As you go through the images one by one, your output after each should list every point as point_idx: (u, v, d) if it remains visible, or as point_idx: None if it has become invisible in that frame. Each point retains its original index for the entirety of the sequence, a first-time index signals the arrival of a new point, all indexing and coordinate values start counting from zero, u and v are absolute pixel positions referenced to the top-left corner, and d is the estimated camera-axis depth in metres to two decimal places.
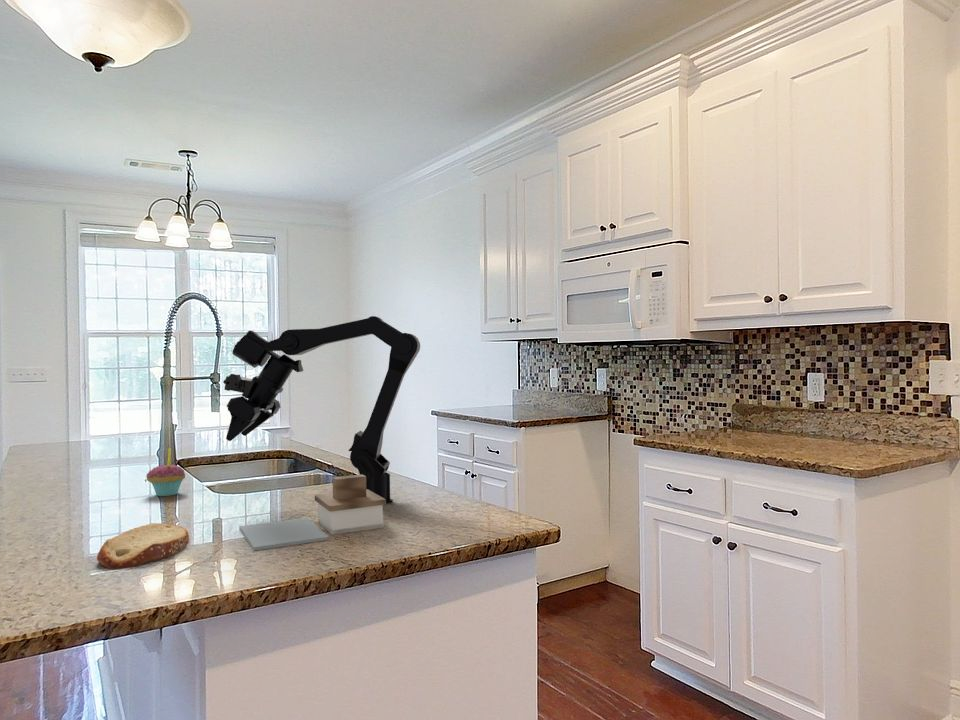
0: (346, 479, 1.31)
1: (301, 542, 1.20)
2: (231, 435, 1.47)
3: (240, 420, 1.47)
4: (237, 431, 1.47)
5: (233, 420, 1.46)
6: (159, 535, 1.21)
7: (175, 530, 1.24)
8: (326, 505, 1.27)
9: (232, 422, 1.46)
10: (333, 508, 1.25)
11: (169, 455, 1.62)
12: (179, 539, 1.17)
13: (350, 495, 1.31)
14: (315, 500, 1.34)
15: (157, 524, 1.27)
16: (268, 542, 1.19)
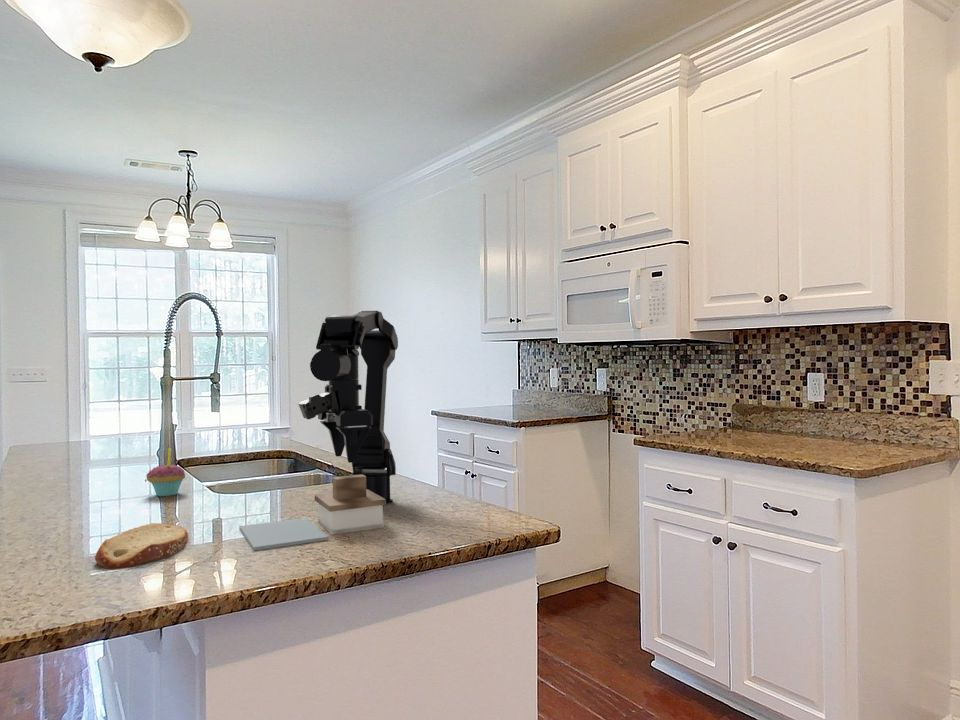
0: (346, 479, 1.31)
1: (301, 542, 1.20)
2: (353, 455, 1.27)
3: (354, 434, 1.27)
4: (357, 446, 1.27)
5: (348, 438, 1.26)
6: (158, 535, 1.21)
7: (174, 530, 1.24)
8: (326, 505, 1.27)
9: (348, 440, 1.26)
10: (333, 508, 1.25)
11: (169, 455, 1.62)
12: (177, 540, 1.17)
13: (350, 495, 1.31)
14: (315, 500, 1.34)
15: (157, 524, 1.27)
16: (268, 542, 1.19)
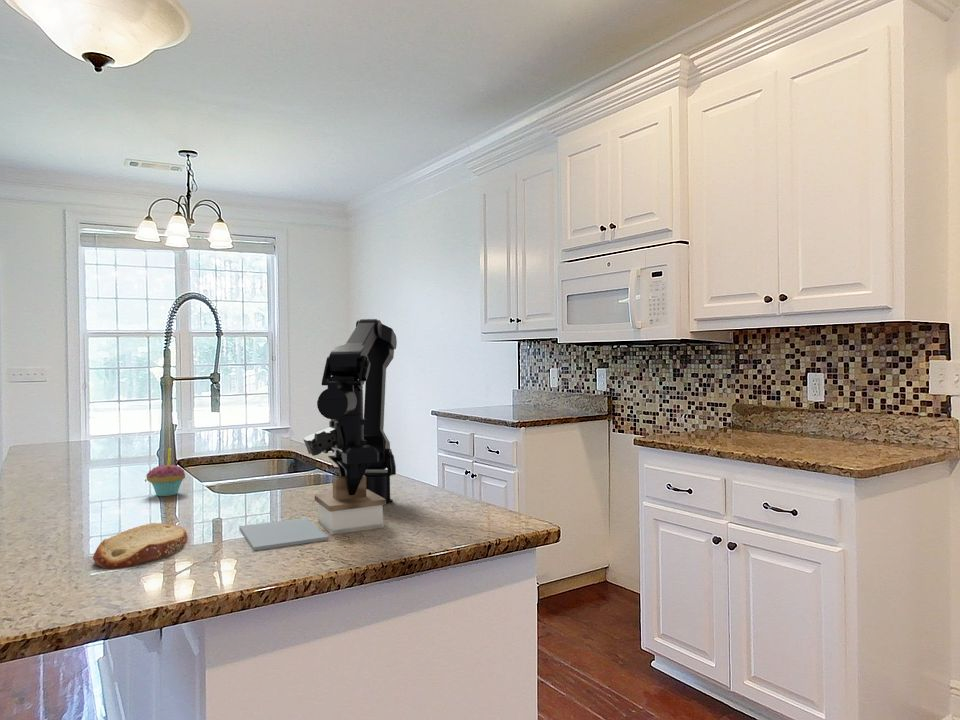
0: None
1: (301, 542, 1.20)
2: (353, 487, 1.30)
3: (355, 467, 1.30)
4: (358, 479, 1.30)
5: (349, 472, 1.29)
6: (157, 535, 1.21)
7: (174, 530, 1.24)
8: (326, 505, 1.27)
9: (349, 474, 1.29)
10: (333, 508, 1.25)
11: (169, 455, 1.62)
12: (176, 540, 1.17)
13: (350, 495, 1.31)
14: (315, 500, 1.34)
15: (157, 524, 1.27)
16: (268, 542, 1.19)
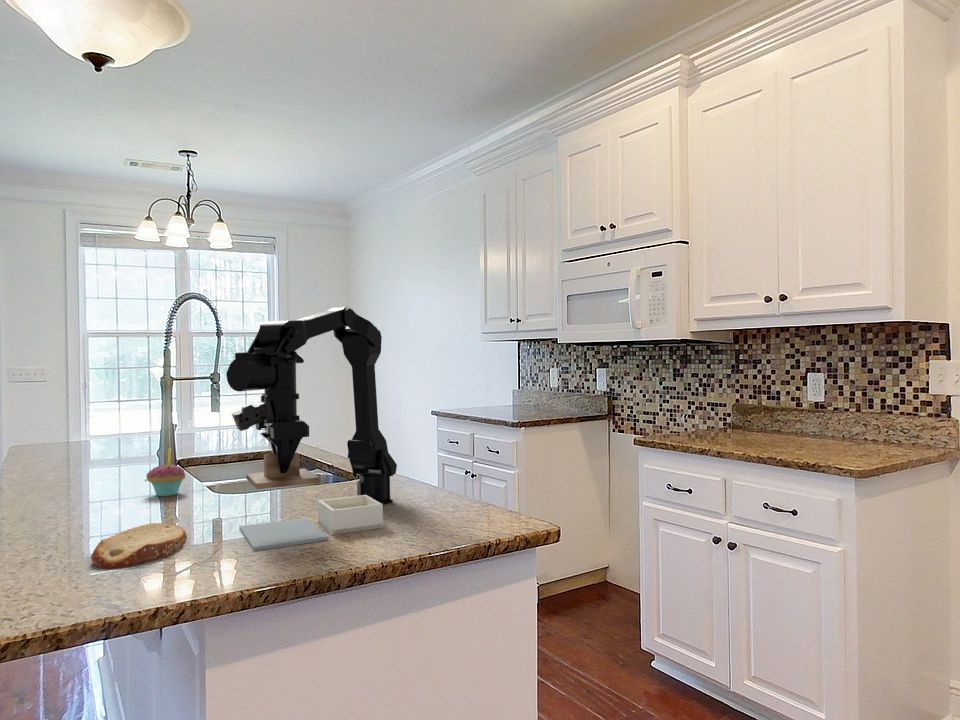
0: None
1: (301, 542, 1.20)
2: (285, 465, 1.24)
3: (286, 444, 1.24)
4: (290, 456, 1.24)
5: (280, 448, 1.23)
6: (156, 535, 1.21)
7: (173, 530, 1.24)
8: (254, 483, 1.21)
9: (279, 450, 1.23)
10: (260, 486, 1.19)
11: (169, 455, 1.62)
12: (174, 540, 1.17)
13: (281, 473, 1.25)
14: (247, 479, 1.28)
15: (156, 524, 1.27)
16: (268, 542, 1.19)
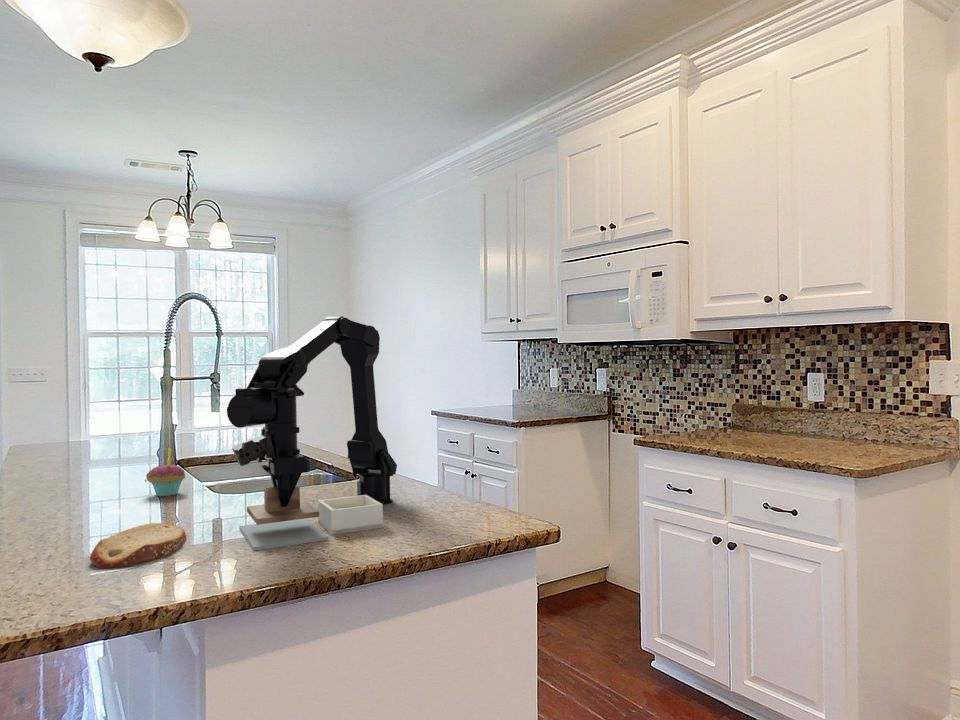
0: None
1: (301, 542, 1.20)
2: (285, 499, 1.24)
3: (286, 478, 1.24)
4: (290, 490, 1.24)
5: (280, 482, 1.23)
6: (156, 535, 1.21)
7: (172, 530, 1.24)
8: (254, 518, 1.21)
9: (280, 485, 1.23)
10: (261, 521, 1.19)
11: (169, 455, 1.62)
12: (173, 540, 1.17)
13: (282, 507, 1.25)
14: None
15: (156, 524, 1.27)
16: (268, 542, 1.19)
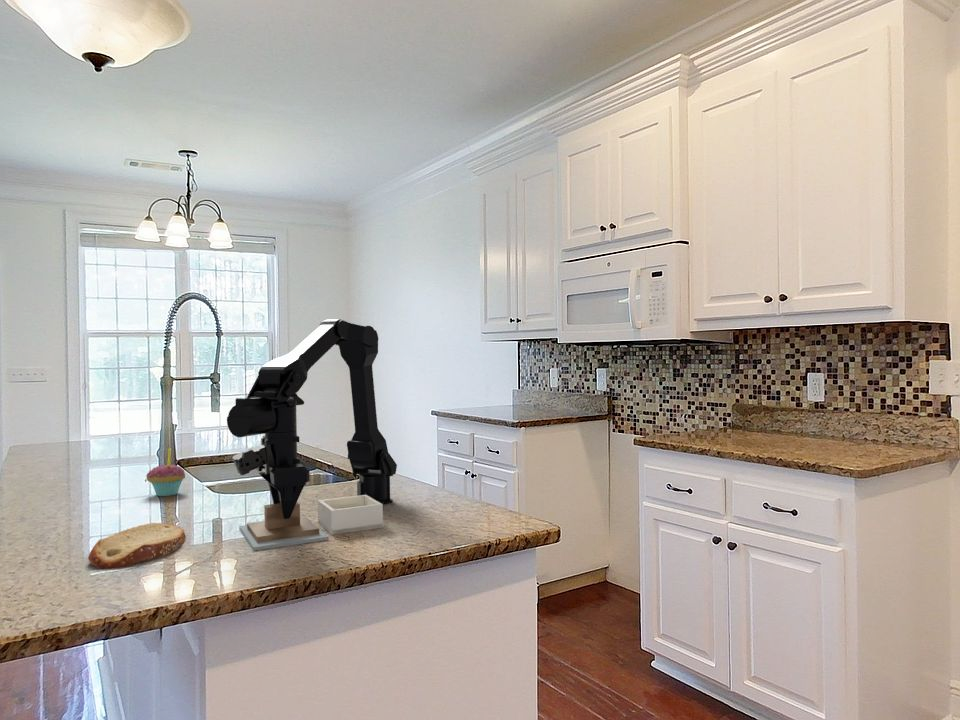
0: (278, 507, 1.25)
1: (301, 542, 1.20)
2: (288, 511, 1.22)
3: (289, 489, 1.22)
4: (293, 502, 1.22)
5: (283, 494, 1.21)
6: (155, 535, 1.21)
7: (172, 530, 1.24)
8: (255, 535, 1.21)
9: (283, 497, 1.21)
10: (261, 539, 1.19)
11: (169, 455, 1.62)
12: (172, 540, 1.17)
13: (282, 524, 1.25)
14: (247, 528, 1.28)
15: (156, 524, 1.27)
16: (268, 542, 1.19)
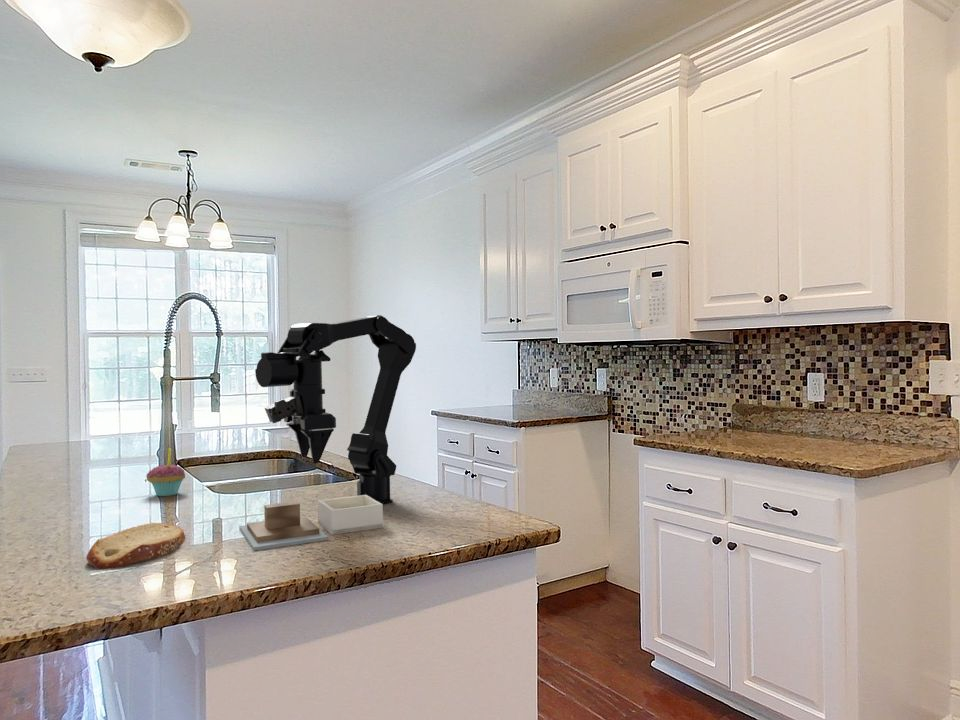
0: (278, 507, 1.25)
1: (301, 542, 1.20)
2: (317, 456, 1.35)
3: (318, 436, 1.34)
4: (322, 448, 1.35)
5: (312, 440, 1.33)
6: (154, 535, 1.21)
7: (171, 530, 1.24)
8: (255, 535, 1.21)
9: (312, 442, 1.33)
10: (261, 539, 1.19)
11: (169, 455, 1.62)
12: (170, 540, 1.16)
13: (282, 524, 1.25)
14: (247, 528, 1.28)
15: (156, 524, 1.27)
16: (268, 542, 1.19)
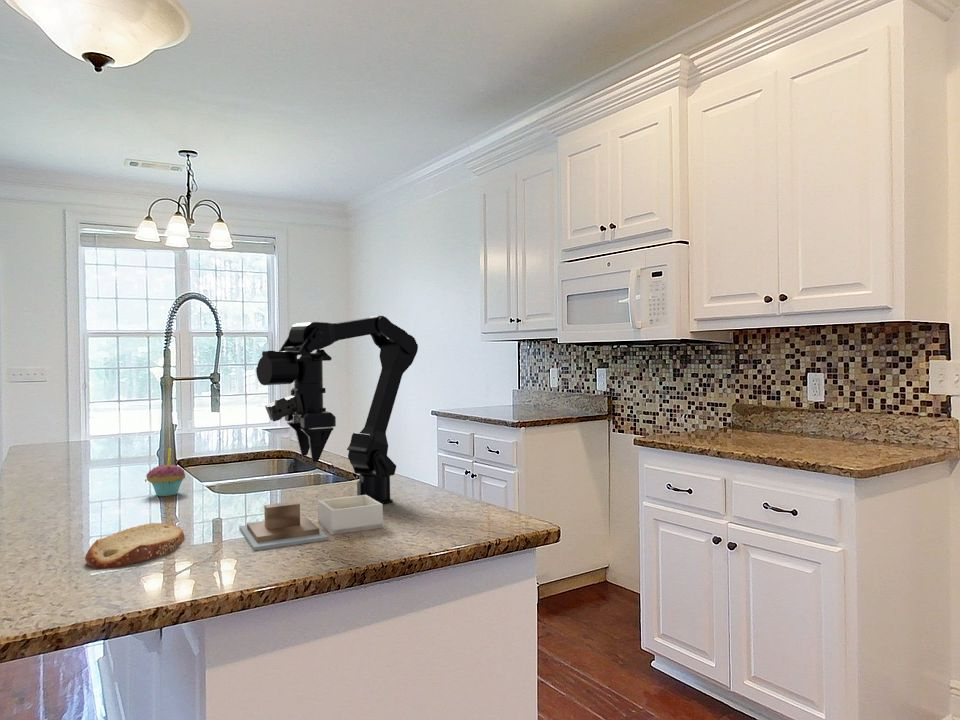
0: (278, 507, 1.25)
1: (301, 542, 1.20)
2: (317, 454, 1.35)
3: (318, 435, 1.34)
4: (321, 446, 1.35)
5: (312, 439, 1.34)
6: (153, 535, 1.21)
7: (171, 531, 1.24)
8: (255, 535, 1.21)
9: (312, 441, 1.34)
10: (261, 539, 1.19)
11: (169, 455, 1.62)
12: (169, 541, 1.16)
13: (282, 524, 1.25)
14: (247, 528, 1.28)
15: (156, 524, 1.27)
16: (268, 542, 1.19)
